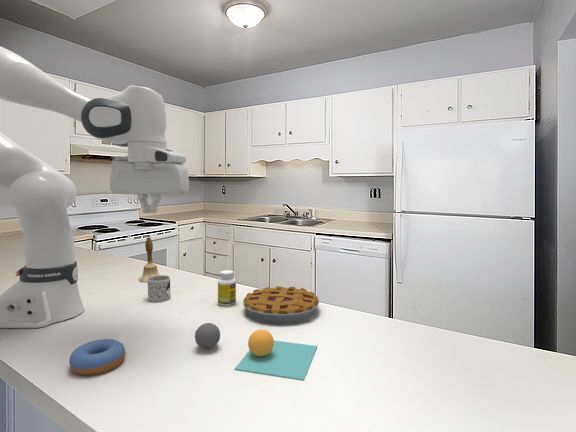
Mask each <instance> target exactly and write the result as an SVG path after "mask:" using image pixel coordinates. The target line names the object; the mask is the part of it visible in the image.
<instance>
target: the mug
mask: <svg viewBox="0 0 576 432" xmlns="http://www.w3.org/2000/svg"><path fill="white" fill-rule="evenodd" d="M171 297H172V296H171V276H170V275H160V276H153V277H150V278H148V282H147V300H148V302H150V303H164V302H168V301H169V300H171V299H172V298H171Z"/></svg>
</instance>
